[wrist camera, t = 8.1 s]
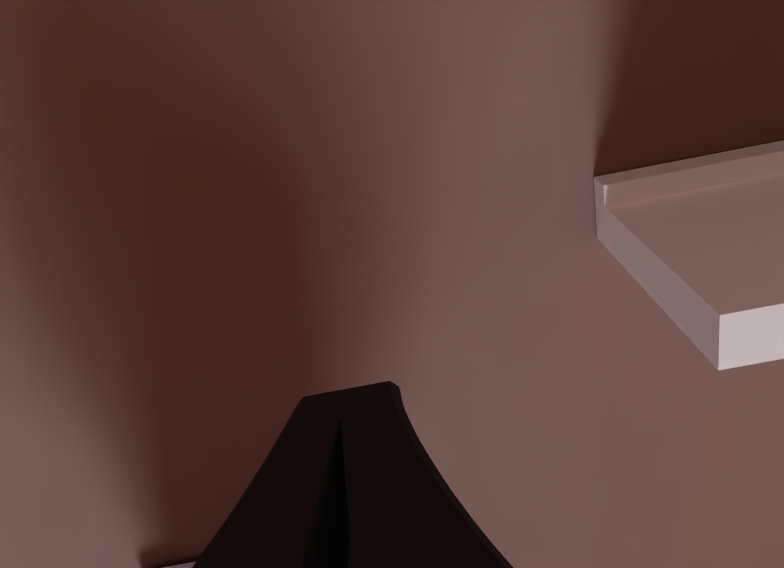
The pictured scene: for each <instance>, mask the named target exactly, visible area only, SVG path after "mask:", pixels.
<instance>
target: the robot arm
mask: <svg viewBox="0 0 784 568" xmlns="http://www.w3.org/2000/svg"><path fill="white" fill-rule="evenodd" d="M163 568H513V567H512V566H511V564H510V563H509V562H508V561H507V560H506V559H505V558H504V557H503V555H502V554H501V553H500V552H499V551H498V550H497V549H496V547H495V546H494V545H493V544H492V543H491V541H490V540H489V539H488V538H487V537H486V535H485V534H484V533H483V532H482V530H481V529H480V528H479V527H478V525H477V524H476V523H475V522H474V520H473V519H472V518H471V516H470V515H469V514H468V512H467V511H466V510H465V508H464V507H463V506H462V504H461V503H460V502H459V500H458V499H457V498H456V496H455V495H454V493H453V492H452V491H451V489H450V488H449V486H448V485H447V483H446V482H445V480H444V479H443V477H442V476H441V474H440V473H439V471H438V470H437V468H436V466H435V465H434V463H433V462H432V460H431V458H430V457H429V455H428V454H427V452H426V451H425V449H424V447H423V445H422V444H421V442H420V440H419V438H418V436H417V435H416V433H415V431H414V429H413V427H412V425H411V423H410V420H409V418H408V416H407V414H406V411H405V409H404V406H403V402H402V398H401V393H400V388H399V386H397V385H396V384H394V383H392V382H391V381H386V382H381V383H376V384H370V385H365V386H360V387H354V388H349V389H343V390H338V391H333V392H327V393H322V394H317V395H311V396H306V397H303V398H302V399H301V401H300V402H299V403H298V405H297V406H296V408H295V410H294V411H293V413H292V415H291V417H290V418H289V420H288V422H287V423H286V425H285V427H284V429H283V430H282V432H281V434H280V436H279V437H278V439H277V441H276V442H275V444H274V446H273V447H272V449H271V451H270V452H269V454H268V456H267V457H266V459H265V461H264V462H263V464H262V466H261V467H260V469H259V470H258V472H257V473H256V475H255V477H254V478H253V480H252V481H251V483H250V484H249V486H248V488H247V489H246V491H245V492H244V494H243V495H242V497H241V498H240V500H239V502H238V503H237V505H236V506H235V508H234V509H233V511H232V512H231V514H230V515H229V517H228V518H227V519H226V521H225V522H224V524H223V525H222V526H221V528H220V529H219V531H218V532H217V533H216V535H215V536H214V538H213V539H212V540H211V542H210V543H209V544H208V546H207V547H206V549H205V550H204V551H203V553H202V554H201V556H200V557H199V558H198V560H197V561H196V562H191V563H185V564H179V565H174V566H168V567H163Z"/></svg>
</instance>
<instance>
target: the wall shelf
mask: <svg viewBox="0 0 784 568" xmlns="http://www.w3.org/2000/svg"><path fill="white" fill-rule="evenodd" d="M594 192H595V209H596V226H597V238H598V239H599V240H600V241H601V243H602V244H603V245H604V246H605V247H606V248H607V249H608V250H609V251H610V252H611V253H612V255H613V256H614V257H615V258H616V259H617V260H618V261H619V262H620V263H621V264H622V266H623V267H624V268H625V269H626V270H627V271H628V272H629V273H630V274H631V275H632V276H633V278H634V279H635V280H636V281H637V282H638V283H639V284H640V285H641V286H642V287H643V288H644V290H645V291H646V292H647V293H648V294H649V295H650V296H651V297H652V298H653V299H654V301H655V302H656V303H657V304H658V305H659V306H660V307H661V308H662V309H663V310H664V311H665V313H666V314H667V315H668V316H669V317H670V318H671V319H672V320H673V321H674V322H675V323H676V325H677V326H678V327H679V328H680V329H681V330H682V331H683V332H684V333H685V334H686V336H687V337H688V338H689V339H690V340H691V341H692V342H693V343H694V344H695V345H696V346H697V348H698V349H699V350H700V351H701V352H702V353H703V354H704V355H705V356H706V357H707V359H708V360H709V361H710V362H711V363H712V364H713V365H714V366H715V367H716V368H717V369H718V370H724V369H729V368H735V367H740V366H745V365H751V364H756V363H762V362H767V361H773V360H778V359H784V140H782V141H777V142H772V143H767V144H762V145H756V146H751V147H746V148H741V149H736V150H731V151H725V152H720V153H715V154H710V155H705V156H700V157H694V158H689V159H684V160H679V161H674V162H669V163H663V164H658V165H653V166H648V167H643V168H638V169H632V170H627V171H622V172H617V173H612V174H607V175H601V176H596V177H594Z"/></svg>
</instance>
